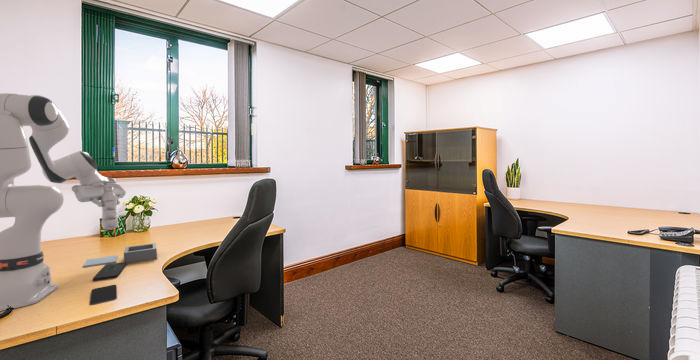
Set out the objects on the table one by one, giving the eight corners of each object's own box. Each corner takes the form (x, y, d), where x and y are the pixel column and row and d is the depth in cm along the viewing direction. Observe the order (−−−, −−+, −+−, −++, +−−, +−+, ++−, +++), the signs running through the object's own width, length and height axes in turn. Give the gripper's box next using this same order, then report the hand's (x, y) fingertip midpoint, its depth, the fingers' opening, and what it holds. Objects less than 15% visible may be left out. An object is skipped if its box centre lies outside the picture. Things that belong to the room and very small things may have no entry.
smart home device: (127, 261, 144) (117, 274, 126) (127, 264, 144) (117, 278, 126) (105, 264, 141) (91, 278, 123) (105, 267, 141) (91, 282, 123)
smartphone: (89, 304, 101) (91, 289, 113) (89, 308, 101) (91, 292, 113) (117, 298, 105) (116, 284, 117) (117, 301, 106) (116, 286, 117)
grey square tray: (157, 258, 152) (156, 248, 152) (124, 263, 145) (123, 252, 145) (156, 252, 163) (156, 243, 163) (126, 256, 156) (125, 247, 156)
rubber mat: (115, 262, 147) (115, 261, 147) (82, 267, 140) (82, 266, 140) (118, 256, 157) (118, 255, 157) (87, 260, 150) (87, 259, 150)
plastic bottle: (109, 230, 145) (107, 188, 144) (97, 230, 147) (95, 188, 146) (122, 228, 152) (120, 187, 150) (111, 227, 153) (109, 187, 152)
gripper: (72, 181, 140) (88, 203, 138) (118, 178, 160) (133, 197, 157) (66, 190, 142) (82, 212, 139) (112, 187, 161) (127, 206, 159)
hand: (110, 204), depth 148 cm, fingers closed on plastic bottle, 6 cm apart
